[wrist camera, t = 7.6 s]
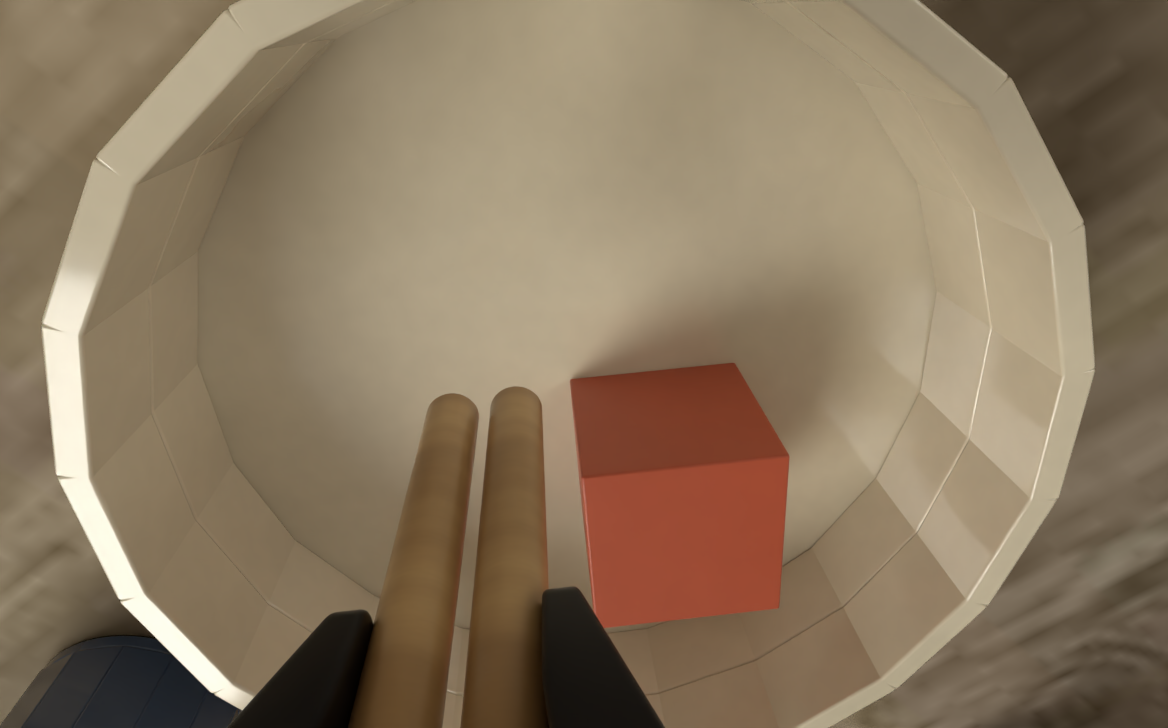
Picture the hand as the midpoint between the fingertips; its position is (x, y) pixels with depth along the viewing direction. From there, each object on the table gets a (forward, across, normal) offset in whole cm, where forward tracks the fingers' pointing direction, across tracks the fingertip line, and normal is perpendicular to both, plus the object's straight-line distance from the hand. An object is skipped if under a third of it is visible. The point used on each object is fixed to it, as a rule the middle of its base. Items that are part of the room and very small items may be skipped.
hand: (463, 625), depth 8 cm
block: (+9, -4, +4) cm, 10 cm away
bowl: (+10, -2, +2) cm, 10 cm away
